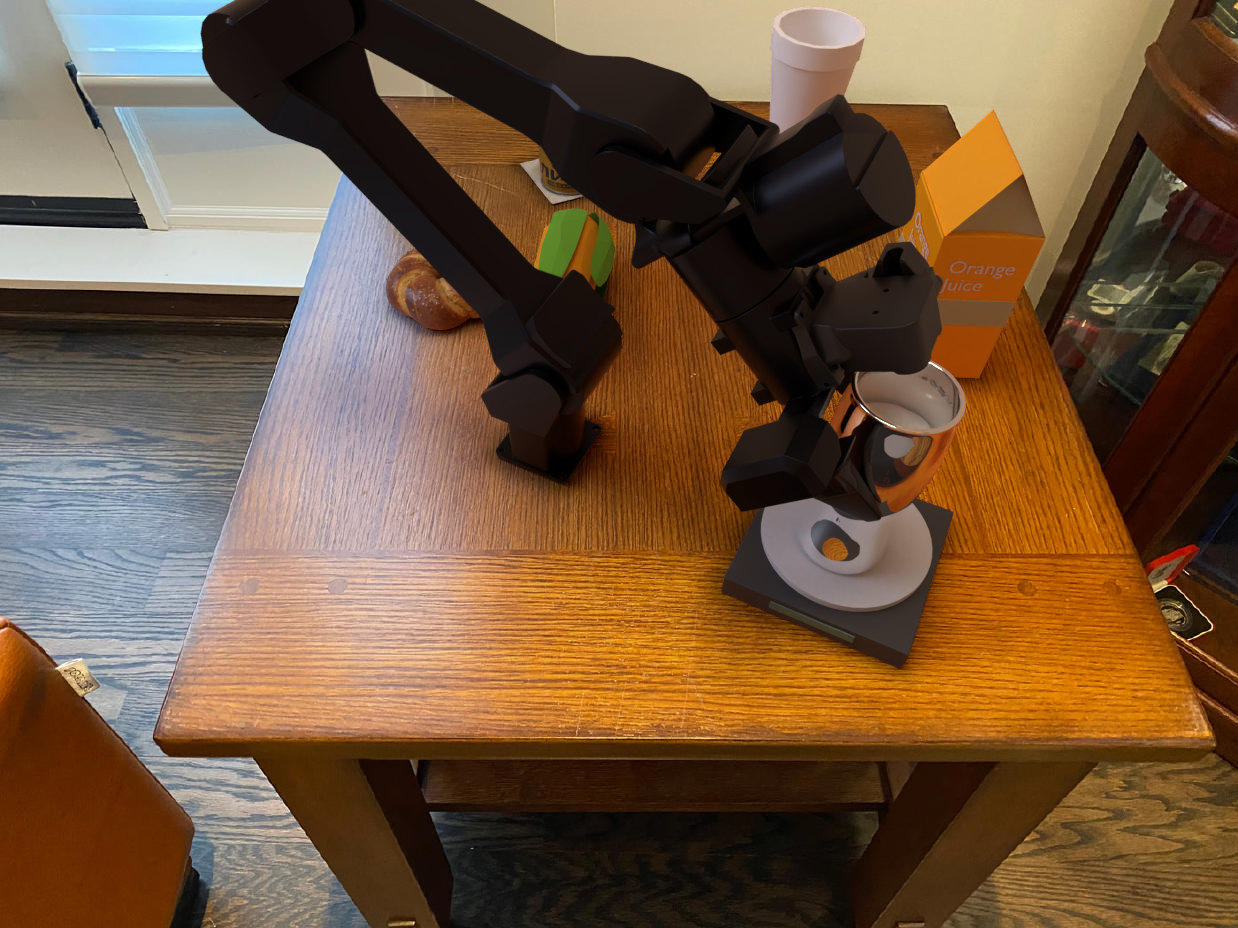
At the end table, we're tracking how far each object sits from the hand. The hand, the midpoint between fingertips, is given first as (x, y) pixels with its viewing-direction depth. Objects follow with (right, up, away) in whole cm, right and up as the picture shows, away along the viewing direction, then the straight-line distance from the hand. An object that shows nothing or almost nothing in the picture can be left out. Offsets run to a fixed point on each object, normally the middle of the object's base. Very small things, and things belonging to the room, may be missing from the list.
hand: (890, 478), depth 55 cm
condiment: (-23, +32, +39) cm, 55 cm away
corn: (-22, +14, +25) cm, 36 cm away
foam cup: (+3, +37, +44) cm, 58 cm away
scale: (-1, -6, +8) cm, 10 cm away
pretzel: (-33, +17, +26) cm, 45 cm away
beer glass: (-2, -5, +6) cm, 8 cm away
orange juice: (+10, +12, +23) cm, 28 cm away
